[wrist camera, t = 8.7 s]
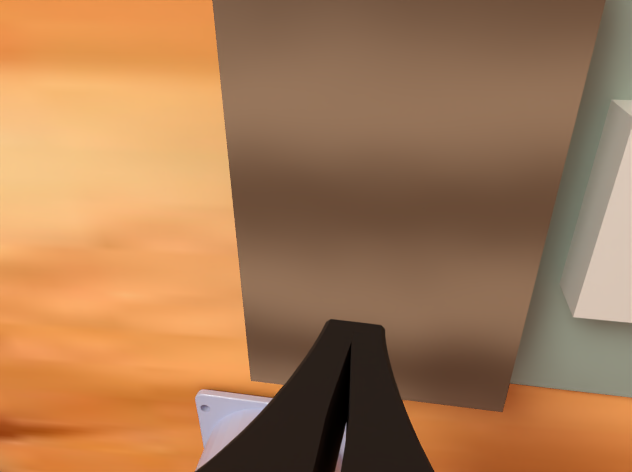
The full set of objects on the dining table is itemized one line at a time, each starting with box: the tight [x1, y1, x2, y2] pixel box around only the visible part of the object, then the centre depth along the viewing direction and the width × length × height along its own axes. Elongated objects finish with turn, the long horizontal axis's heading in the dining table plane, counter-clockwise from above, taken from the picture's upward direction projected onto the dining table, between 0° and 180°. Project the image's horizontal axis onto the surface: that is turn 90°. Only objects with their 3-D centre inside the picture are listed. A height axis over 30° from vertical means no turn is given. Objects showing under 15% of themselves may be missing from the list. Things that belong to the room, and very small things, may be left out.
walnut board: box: [212, 0, 606, 412], centre depth 18 cm, size 16×10×3 cm, turn 1°
